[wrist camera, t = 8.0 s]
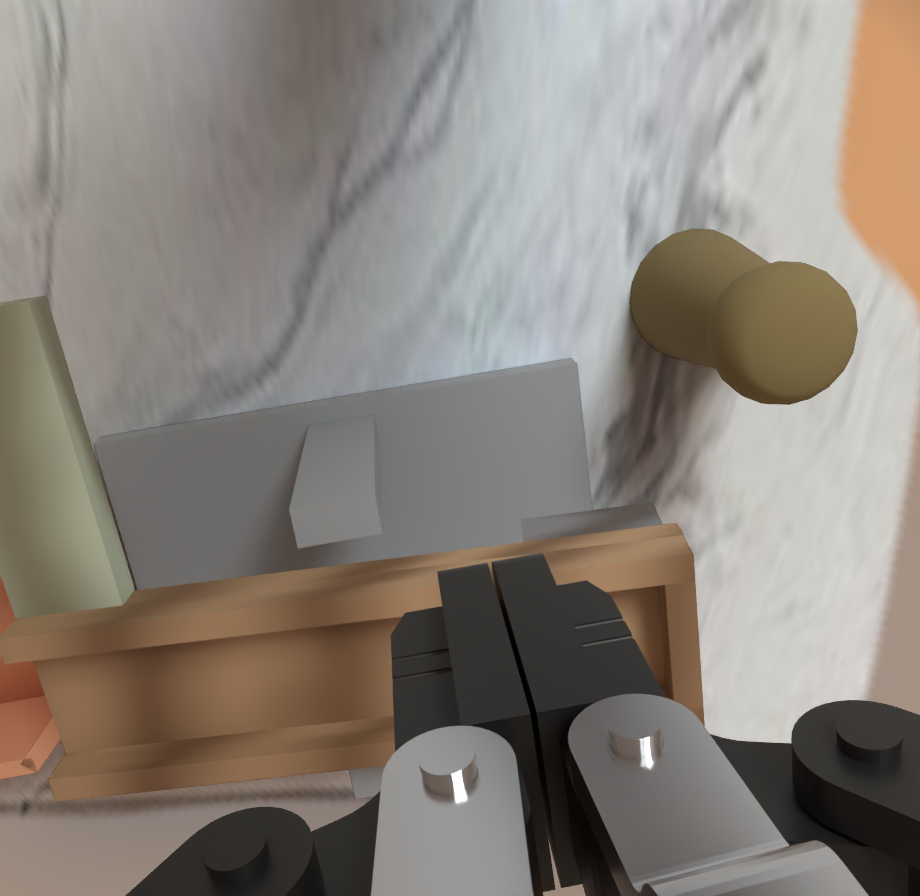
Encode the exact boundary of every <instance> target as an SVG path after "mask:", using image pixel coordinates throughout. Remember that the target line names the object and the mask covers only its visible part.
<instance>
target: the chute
mask: <svg viewBox="0 0 920 896" xmlns="http://www.w3.org/2000/svg"><path fill="white" fill-rule="evenodd" d="M521 527H522V535H523V542H520V543H512V544H504V545H496V546H488V547H480V548H472V549H464V550H456V551H448V552H439V553H431V554H423V555H415V556H407V557H399V558H391V559H383V560H375V561H367V562H359V563H351V564H343V565H335V566H327V567H319V568H311V569H303V570H295V571H287V572H279V573H271V574H263V575H255V576H247V577H239V578H230V579H222V580H214V581H206V582H198V583H190V584H182V585H174V586H166V587H158V588H150V589H142V590H135V588H134V585H133V581H132V578H131V575H130V571H129V568H128V565H127V562H126V558H125V555H124V552H123V548H122V545H121V542H120V538H119V535H118V532H117V528H116V525H115V522H114V519H113V515H112V512H111V509H110V505H109V502H108V499H107V495H106V492H105V489H104V485H103V482H102V479H101V476H100V472H99V469H98V466H97V462H96V459H95V456H94V452H93V449H92V446H91V442H90V439H89V436H88V433H87V429H86V426H85V423H84V419H83V416H82V413H81V409H80V406H79V403H78V399H77V396H76V393H75V390H74V386H73V383H72V380H71V376H70V373H69V370H68V366H67V363H66V360H65V356H64V353H63V350H62V346H61V343H60V340H59V337H58V333H57V330H56V327H55V323H54V320H53V317H52V313H51V310H50V307H49V303H48V300H47V297H46V296H41V297H35V298H28V299H21V300H14V301H8V302H1V303H0V576H1V578H2V581H3V584H4V587H5V590H6V592H7V595H8V598H9V601H10V604H11V606H12V609H13V612H14V615H15V618H16V619H15V620H14V621H13V622H12V623H11V624H10V625H9V626H8V627H7V628H6V629H5V631H4V632H3V633H2V634H1V635H0V652H1V655H2V657H3V660H4V663H5V664H11V663H19V662H27V661H33V663H34V666H35V669H36V671H37V674H38V677H39V680H40V683H41V685H42V688H43V691H44V694H45V697H46V699H47V702H48V705H49V708H50V711H51V713H52V716H53V719H54V722H55V725H56V727H57V730H58V733H59V736H60V739H61V741H62V744H63V747H64V750H65V755H64V756H63V758H62V759H61V761H60V762H59V764H58V765H57V767H56V768H55V770H54V771H53V773H52V774H51V776H50V777H49V779H48V782H49V785H50V787H51V790H52V793H53V796H54V798H55V801H65V800H74V799H83V798H93V797H102V796H111V795H120V794H129V793H139V792H148V791H157V790H166V789H175V788H184V787H194V786H203V785H212V784H221V783H230V782H240V781H249V780H258V779H267V778H276V777H285V776H295V775H304V774H313V773H322V772H331V771H341V770H350V769H359V768H368V767H377V766H386V764H387V762H388V761H389V759H390V758H391V756H392V755H393V754H394V753H395V736H394V710H393V684H392V683H393V679H392V658H391V634H392V632H393V631H394V629H395V628H396V626H397V624H398V623H399V621H400V620H401V618H402V617H403V615H404V613H406V612H412V611H418V610H423V609H429V608H434V607H440V606H442V601H441V595H440V588H439V582H438V575H437V571H442V570H448V569H453V568H459V567H465V566H470V565H476V564H482V563H488V565H489V569H490V572H491V576H492V579H493V574H492V561H498V560H504V559H509V558H515V557H521V556H526V555H532V554H538V553H543V554H544V556H545V559H546V561H547V563H548V566H549V568H550V570H551V573H552V575H553V577H554V580H555V582H556V584H557V585H563V584H569V583H574V582H580V581H586V580H587V581H589V582H590V583H592V584H593V585H595V586H597V587H598V588H600V589H601V590H603V591H604V592H606V593H608V594H609V595H611V596H612V598H613V600H614V602H615V604H616V606H617V607H618V609H619V611H620V613H621V615H622V617H623V621H625V622H626V624H627V626H628V628H629V630H630V632H631V633H632V637H633V639H635V641H636V643H637V644H638V646H639V648H640V650H641V652H642V654H643V656H644V657H645V659H646V661H647V663H648V665H649V667H650V669H651V670H652V672H653V674H654V676H655V678H656V680H657V682H658V683H659V685H660V687H661V689H662V691H663V693H664V695H665V696H666V698H668V699H670V700H673V701H675V702H678V703H680V704H681V705H683V706H685V707H686V708H688V709H689V710H690V711H692V712H693V713H694V714H695V715H696V716H697V718H698V719H699V720H700V721H701V723H702V724H703V726H704V727H705V725H704V710H703V694H702V679H701V663H700V648H699V632H698V617H697V602H696V586H695V571H694V555H693V553H692V551H691V549H690V547H689V545H688V543H687V541H686V539H685V537H684V535H683V533H682V531H681V529H680V528H679V526H678V524H677V523H673V524H665V525H663V524H662V522H661V519H660V517H659V515H658V513H657V511H656V509H655V507H654V505H653V503H645V504H637V505H629V506H621V507H614V508H606V509H598V510H590V511H582V512H574V513H566V514H558V515H550V516H542V517H534V518H526V519H521ZM493 583H494V581H493Z"/></svg>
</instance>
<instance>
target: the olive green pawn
mask: <svg viewBox="0 0 920 896" xmlns="http://www.w3.org/2000/svg"><path fill="white" fill-rule="evenodd" d="M630 306H631V311H632V316H633V321H634V324H635V325H636V327H637V329H638V330H639V332H640V334H641V336H642V337H643V339H644V340H645V341H646V342H648V343H649V344H650V345H651V346H652V347H654V348H655V349H656V350H657V351H659V352H662V353H664V354H667V355H669V356H672V357H675V358H678V359H682V360H686V361H689V362H693V363H697V364H701V365H704V366H708V367H712V368H716V369H717V371H718V373H719V375H720V377H721V378H722V380H724V381H725V382H726V383H727V384H728V385H729V386H731V387H732V388H733V389H734V390H735V391H736V392H738V393H739V394H740V395H742V396H744V397H746V398H749V399H752V400H754V401H757V402H760V403H763V404H787V405H790V404H793V403H797V402H800V401H804V400H807V399H810V398H812V397H813V396H815V395H817V394H818V393H820V392H821V391H823V390H825V389H826V388H828V387H829V386H830V385H831V384H832V383H833V382H834V381H835V380H836V379H837V377H838V376H839V375H840V374H841V373H842V372H843V371H844V370H845V368H846V366H847V364H848V362H849V360H850V358H851V356H852V354H853V351H854V346H855V341H856V336H857V331H858V329H857V320H856V310H855V308H854V305H853V303H852V301H851V299H850V297H849V295H848V293H847V291H846V290H845V289H844V288H843V287H842V286H841V285H840V284H839V283H838V282H837V281H836V280H835V279H834V278H832V277H831V276H830V275H829V274H828V273H827V272H825V271H823V270H821V269H818V268H816V267H813V266H811V265H809V264H805V263H801V262H782V261H778V262H774V263H769V262H767V261H766V260H764V259H763V258H761V257H760V256H758V255H757V254H755V253H754V252H752V251H751V250H749V249H748V248H746V247H745V246H743V245H742V244H740V243H739V242H737V241H736V240H734V239H733V238H731V237H729V236H727V235H724V234H722V233H719V232H717V231H715V230H709V229H690V230H686V231H683V232H679V233H675V234H672V235H671V236H669V237H668V238H666V239H665V240H663V241H662V242H660V243H659V244H657V245H655V246H654V247H653V249H652V250H651V251H650V252H649V253H648V255H647V256H646V257H645V258H644V259H643V261H642V262H641V263H640V266H639V268H638V270H637V272H636V275H635V277H634V279H633V282H632V289H631V297H630Z"/></svg>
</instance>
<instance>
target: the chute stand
mask: <svg viewBox="0 0 920 896" xmlns="http://www.w3.org/2000/svg"><path fill="white" fill-rule="evenodd" d="M94 447H95V450H96V454H97V457H98V460H99V464H100V467H101V470H102V474H103V477H104V480H105V484H106V487H107V490H108V494H109V497H110V500H111V504H112V507H113V510H114V514H115V517H116V520H117V524H118V527H119V530H120V533H121V537H122V540H123V543H124V547H125V550H126V553H127V557H128V560H129V563H130V567H131V570H132V573H133V577H134V580H135V583H136V587H137V590H142V589H150V588H158V587H166V586H174V585H182V584H190V583H198V582H206V581H214V580H222V579H230V578H239V577H247V576H255V575H263V574H271V573H279V572H287V571H295V570H303V569H311V568H319V567H327V566H335V565H343V564H351V563H359V562H367V561H375V560H383V559H391V558H399V557H407V556H415V555H423V554H431V553H439V552H448V551H456V550H464V549H472V548H480V547H488V546H496V545H504V544H512V543H520V542H523V535H522V527H521V519H526V518H534V517H542V516H550V515H558V514H566V513H574V512H582V511H590V510H593V509H592V499H591V490H590V480H589V471H588V461H587V452H586V442H585V433H584V423H583V414H582V404H581V394H580V385H579V375H578V366H577V363H576V362H575V361H574V360H573V359H572V358H568V359H562V360H556V361H550V362H544V363H538V364H532V365H526V366H520V367H514V368H508V369H502V370H496V371H490V372H484V373H478V374H472V375H466V376H460V377H454V378H448V379H442V380H436V381H430V382H424V383H418V384H412V385H406V386H400V387H394V388H388V389H382V390H376V391H370V392H364V393H358V394H352V395H346V396H340V397H334V398H328V399H322V400H316V401H310V402H304V403H298V404H292V405H286V406H280V407H274V408H268V409H262V410H256V411H250V412H244V413H238V414H232V415H226V416H220V417H214V418H208V419H203V420H197V421H191V422H185V423H179V424H173V425H167V426H161V427H155V428H149V429H143V430H137V431H131V432H125V433H119V434H113V435H107V436H101V437H100V438H99V440H98V441H97V442H96V443H95V444H94ZM384 768H385V766H377V767H368V768H359V769H350V770H349V773H350V778H351V782H352V786H353V791H354V795H355V799H361V798H367V797H372V796H375V795H376V794H377V793H378V792H379V791H380V790H381V782H382V775H383V771H384Z"/></svg>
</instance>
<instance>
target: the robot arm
mask: <svg viewBox="0 0 920 896" xmlns="http://www.w3.org/2000/svg"><path fill="white" fill-rule="evenodd" d="M492 574H493V579H492V576H491V572H490V569H489V565H488V563H482V564H476V565H470V566H465V567H459V568H453V569H448V570H442V571H437V575H438V582H439V588H440V595H441V601H442V606H440V607H434V608H429V609H423V610H418V611H412V612H406V613H404V615H403V617H402V618H401V620H400V621H399V623H398V624H397V626H396V628H395V629H394V631H393V632H392V634H391V658H392V679H393V683H392V684H393V710H394V736H395V753H394V754H393V755H392V756H391V758H390V759H389V761H388V762H387V764H386V766H385V768H384V771H383V775H382V782H381V790H380V791H379V792H378V793H377V794H376V795H375V796H374V798H372V799H371V800H370V801H369V802H367V803H366V804H365V805H364V806H362V807H361V808H359V809H358V810H356V811H354V812H353V813H351V814H349V815H347V816H345V817H343V818H341V819H339V820H337V821H334V822H332V823H330V824H328V825H326V826H323V827H321V828H319V829H317V830H314V831H312V832H311V831H310V828H309V827H308V825H307V824H306V822H305V821H304V820H303V819H302V818H301V817H299V816H298V815H296V814H295V813H293V812H291V811H288V810H285V809H282V808H275V807H256V808H249V809H244V810H241V811H237V812H233V813H231V814H228V815H226V816H223V817H221V818H219V819H217V820H215V821H213V822H211V823H209V824H208V825H206V826H205V827H203V828H202V829H200V830H199V831H198V832H196V833H195V834H194V835H193V836H191V837H190V838H189V839H188V840H187V841H186V842H185V843H183V844H182V845H181V846H180V847H179V848H178V849H177V850H176V851H175V852H173V853H172V854H171V855H170V856H169V857H168V858H167V859H166V860H165V861H163V862H162V863H161V864H160V865H159V866H158V867H157V868H156V869H155V870H154V871H153V872H151V873H150V874H149V875H148V876H147V877H146V878H145V879H144V880H142V881H141V882H140V883H139V884H138V885H137V886H136V887H135V888H134V889H132V891H130V892H129V893H128V894H127V895H126V896H543V892H545V891H550V890H555V884H554V877H553V870H552V863H551V855H550V849H549V843H548V842H550V846H551V850H552V854H553V858H554V862H555V866H556V869H557V874H558V878H559V881H560V885H561V888H564V887H569V886H574V885H579V884H583V887H584V891H585V894H586V896H920V715H918V714H915V713H912V712H909V711H906V710H903V709H900V708H897V707H894V706H890V705H887V704H882V703H877V702H871V701H861V700H846V701H836V702H831V703H827V704H823V705H820V706H818V707H815V708H813V709H811V710H809V711H808V712H806V713H805V714H804V715H802V716H801V717H800V718H799V719H798V721H797V722H796V724H795V725H794V728H793V731H792V744H789V743H766V742H747V741H736V740H731V739H726V738H721V737H718V736H714V735H711V734H709V733H708V731H707V730H706V728H705V727H704V726H703V724H702V723H701V721H700V720H699V719H698V718H697V716H696V715H695V714H694V713H693V712H692V711H690V710H689V709H688V708H686V707H685V706H683V705H681V704H680V703H678V702H675V701H673V700H670V699H668V698H666V696H665V695H664V693H663V691H662V689H661V687H660V685H659V683H658V682H657V680H656V678H655V676H654V674H653V672H652V670H651V669H650V667H649V665H648V663H647V661H646V659H645V657H644V656H643V654H642V652H641V650H640V648H639V646H638V644H637V643H636V641H635V639H633V637H632V633H631V632H630V630H629V628H628V626H627V624H626V622H625V621H623V617H622V615H621V613H620V611H619V609H618V607H617V606H616V604H615V602H614V600H613V598H612V596H611V595H609V594H608V593H606V592H604V591H603V590H601V589H600V588H598V587H597V586H595V585H593V584H592V583H590V582H589V581H587V580H586V581H580V582H574V583H569V584H563V585H557V584H556V582H555V580H554V577H553V575H552V573H551V570H550V568H549V566H548V563H547V561H546V559H545V556H544V554H543V553H538V554H532V555H526V556H521V557H515V558H509V559H504V560H498V561H492ZM493 581H494V583H493ZM548 839H549V841H548Z"/></svg>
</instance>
